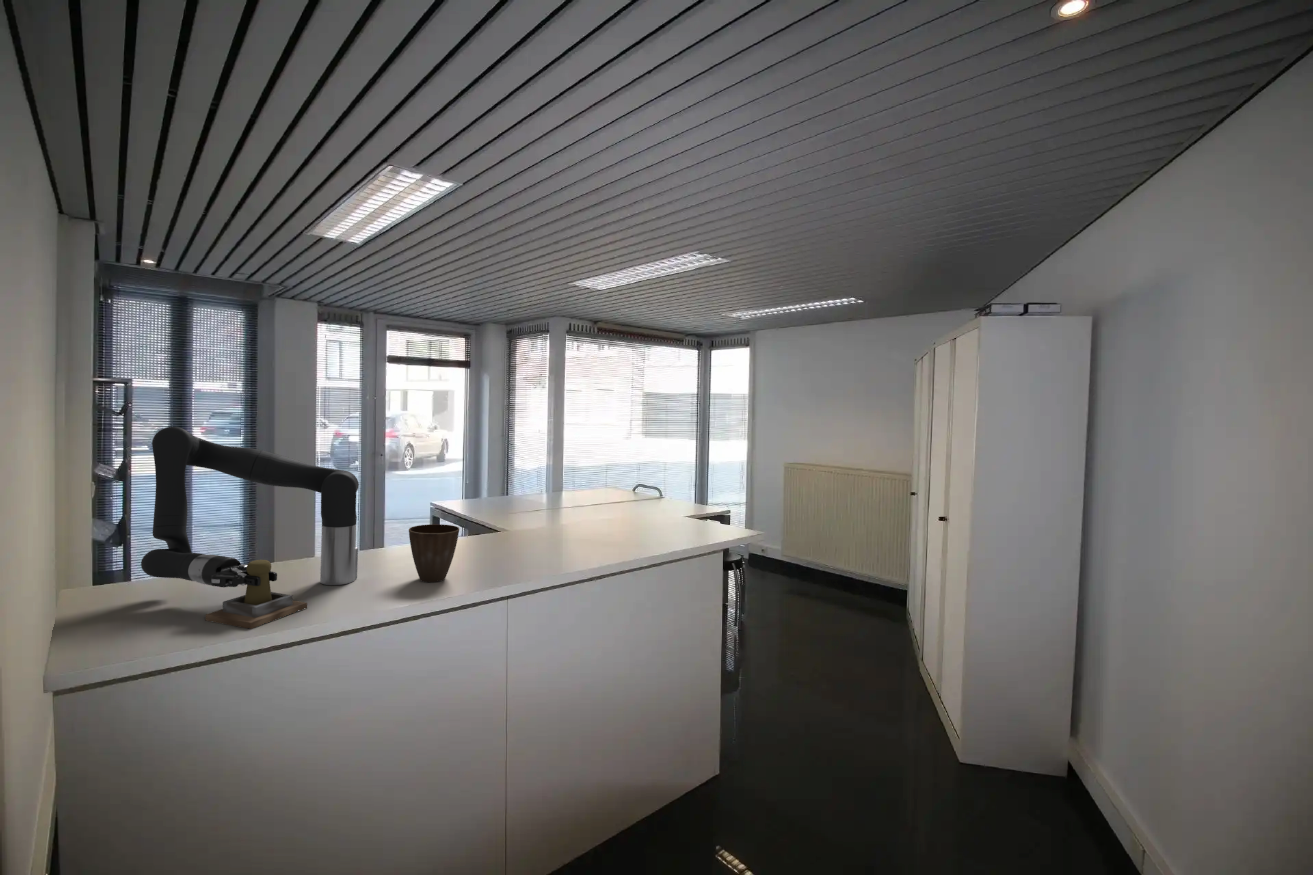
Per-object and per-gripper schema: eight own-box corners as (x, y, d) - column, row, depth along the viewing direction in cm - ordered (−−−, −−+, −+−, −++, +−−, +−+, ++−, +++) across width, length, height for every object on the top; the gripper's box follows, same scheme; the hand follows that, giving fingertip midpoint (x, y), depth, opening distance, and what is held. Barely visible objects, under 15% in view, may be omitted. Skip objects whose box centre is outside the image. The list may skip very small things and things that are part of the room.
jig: (264, 601, 161) (264, 586, 161) (306, 608, 157) (307, 593, 157) (205, 620, 146) (205, 604, 145) (250, 628, 142) (251, 612, 142)
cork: (277, 600, 155) (278, 558, 154) (262, 608, 149) (264, 564, 148) (253, 599, 154) (254, 556, 154) (237, 607, 148) (238, 563, 148)
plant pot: (404, 574, 192) (406, 524, 191) (453, 570, 199) (455, 523, 198) (409, 587, 179) (411, 534, 178) (461, 583, 186) (463, 532, 185)
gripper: (187, 562, 148) (241, 571, 143) (241, 550, 162) (292, 558, 157) (186, 592, 148) (240, 602, 144) (240, 577, 162) (291, 586, 157)
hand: (267, 579), depth 150 cm, fingers closed on cork, 4 cm apart
